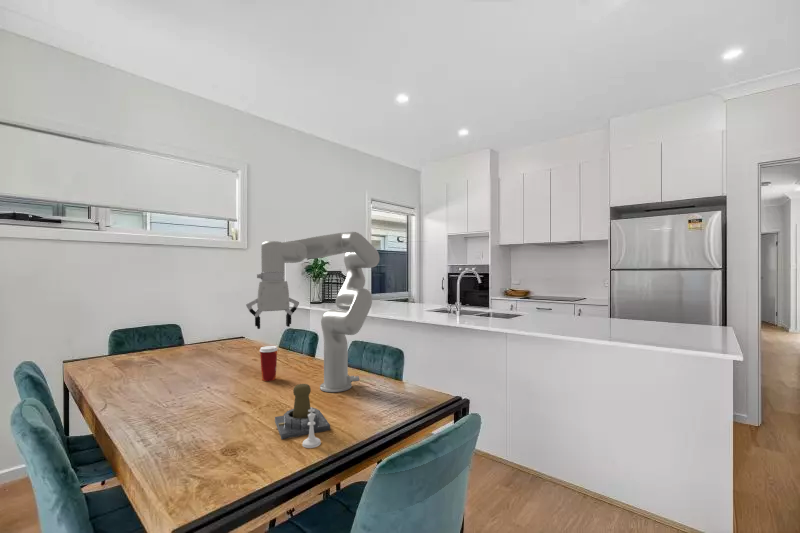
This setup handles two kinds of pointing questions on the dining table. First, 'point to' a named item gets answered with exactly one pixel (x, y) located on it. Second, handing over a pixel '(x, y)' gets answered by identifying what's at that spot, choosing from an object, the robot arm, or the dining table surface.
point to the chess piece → (311, 433)
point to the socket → (300, 424)
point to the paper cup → (268, 362)
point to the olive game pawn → (301, 401)
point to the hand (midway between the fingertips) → (273, 327)
